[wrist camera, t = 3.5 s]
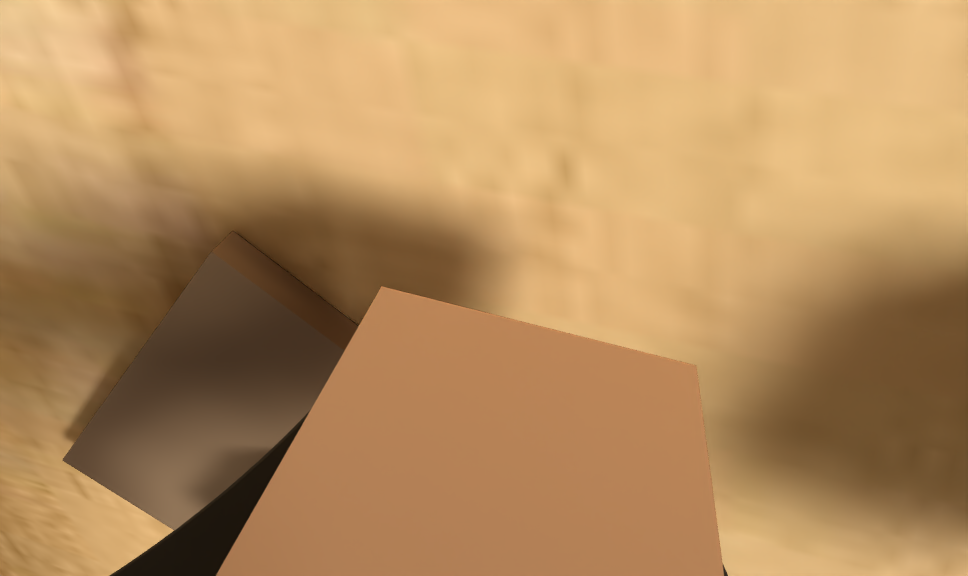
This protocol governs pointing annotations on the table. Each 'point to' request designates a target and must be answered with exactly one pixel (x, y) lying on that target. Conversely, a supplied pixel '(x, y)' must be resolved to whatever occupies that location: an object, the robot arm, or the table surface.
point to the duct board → (213, 385)
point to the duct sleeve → (489, 458)
